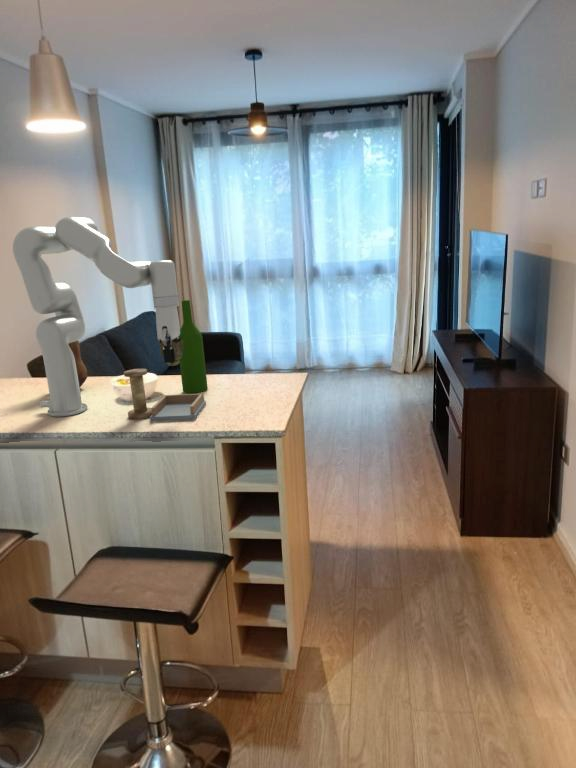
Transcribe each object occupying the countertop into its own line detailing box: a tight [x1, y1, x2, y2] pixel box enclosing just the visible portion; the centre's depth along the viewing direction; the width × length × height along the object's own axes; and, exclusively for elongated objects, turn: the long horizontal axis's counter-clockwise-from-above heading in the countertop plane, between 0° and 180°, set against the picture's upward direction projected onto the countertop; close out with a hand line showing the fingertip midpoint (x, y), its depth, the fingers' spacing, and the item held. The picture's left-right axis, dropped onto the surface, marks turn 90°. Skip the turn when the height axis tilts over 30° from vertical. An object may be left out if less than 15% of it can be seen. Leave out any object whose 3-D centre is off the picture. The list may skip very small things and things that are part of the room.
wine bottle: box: [179, 299, 208, 394], centre depth 211 cm, size 9×9×32 cm
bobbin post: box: [123, 368, 152, 421], centre depth 186 cm, size 8×8×14 cm
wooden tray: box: [149, 392, 207, 423], centre depth 187 cm, size 14×16×4 cm
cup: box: [158, 338, 183, 367], centre depth 183 cm, size 8×7×8 cm
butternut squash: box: [68, 340, 88, 389], centre depth 226 cm, size 14×13×25 cm
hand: (173, 359), depth 183 cm, fingers closed on cup, 6 cm apart
